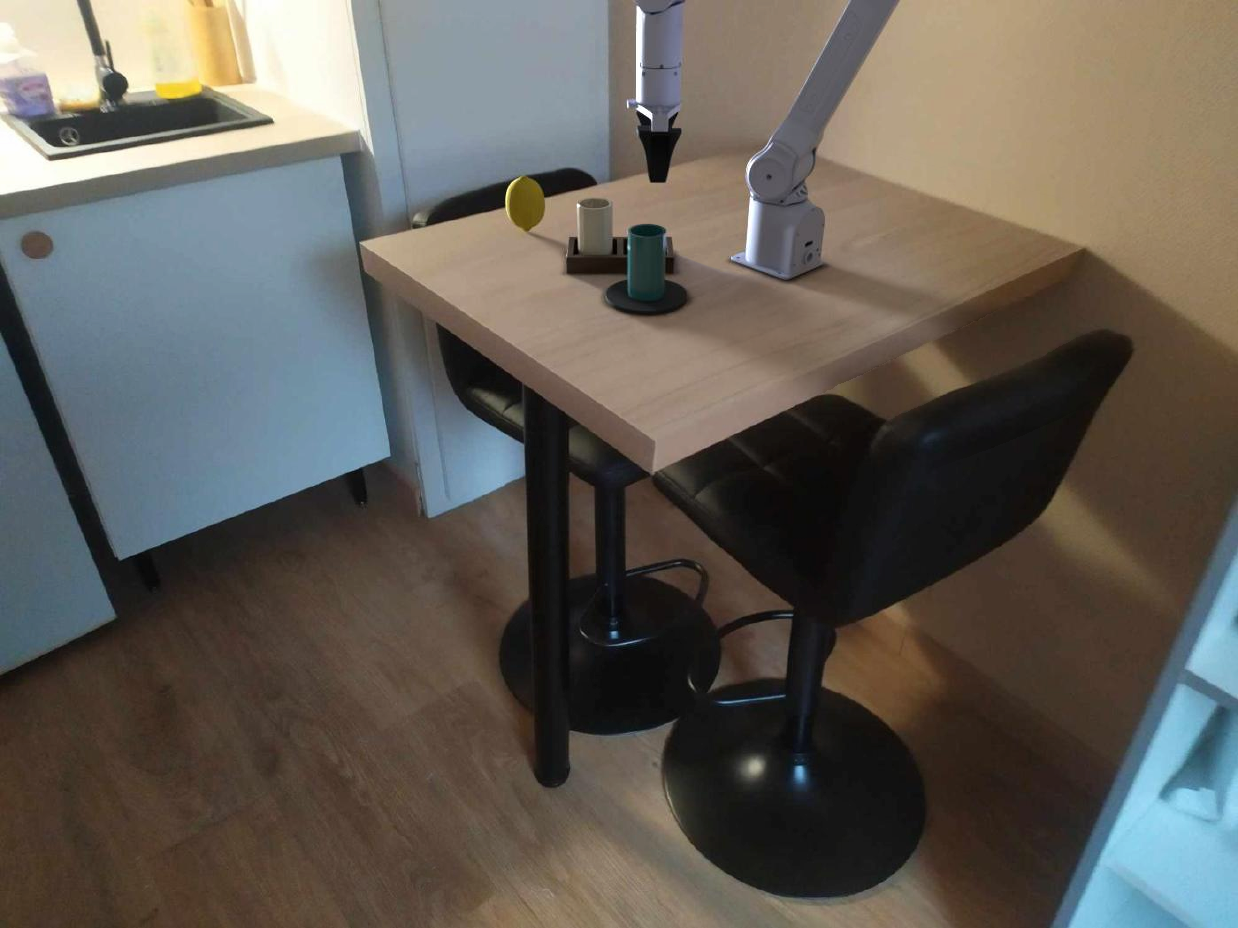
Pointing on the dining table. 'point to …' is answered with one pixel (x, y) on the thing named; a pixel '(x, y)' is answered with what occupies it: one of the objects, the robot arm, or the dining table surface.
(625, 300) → the coaster
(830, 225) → the dining table surface
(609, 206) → the cream cup
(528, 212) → the lemon
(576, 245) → the holder
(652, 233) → the teal cup
